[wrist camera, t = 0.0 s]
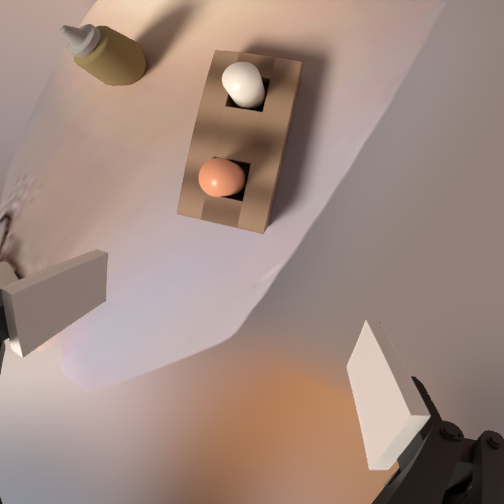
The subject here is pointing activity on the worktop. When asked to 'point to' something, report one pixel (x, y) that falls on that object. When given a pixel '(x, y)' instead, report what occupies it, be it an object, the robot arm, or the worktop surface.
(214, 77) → the walnut plug block
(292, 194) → the worktop surface
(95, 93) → the worktop surface
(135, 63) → the squeeze bottle
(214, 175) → the terracotta plug
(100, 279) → the robot arm
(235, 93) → the white oval piece
